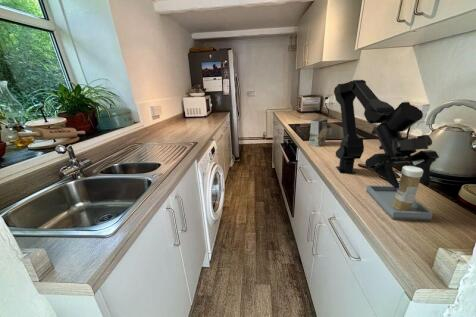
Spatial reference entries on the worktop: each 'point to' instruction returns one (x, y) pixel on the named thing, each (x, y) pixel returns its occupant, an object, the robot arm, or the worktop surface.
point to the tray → (386, 199)
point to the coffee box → (318, 132)
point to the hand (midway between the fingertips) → (412, 186)
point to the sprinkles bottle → (407, 188)
